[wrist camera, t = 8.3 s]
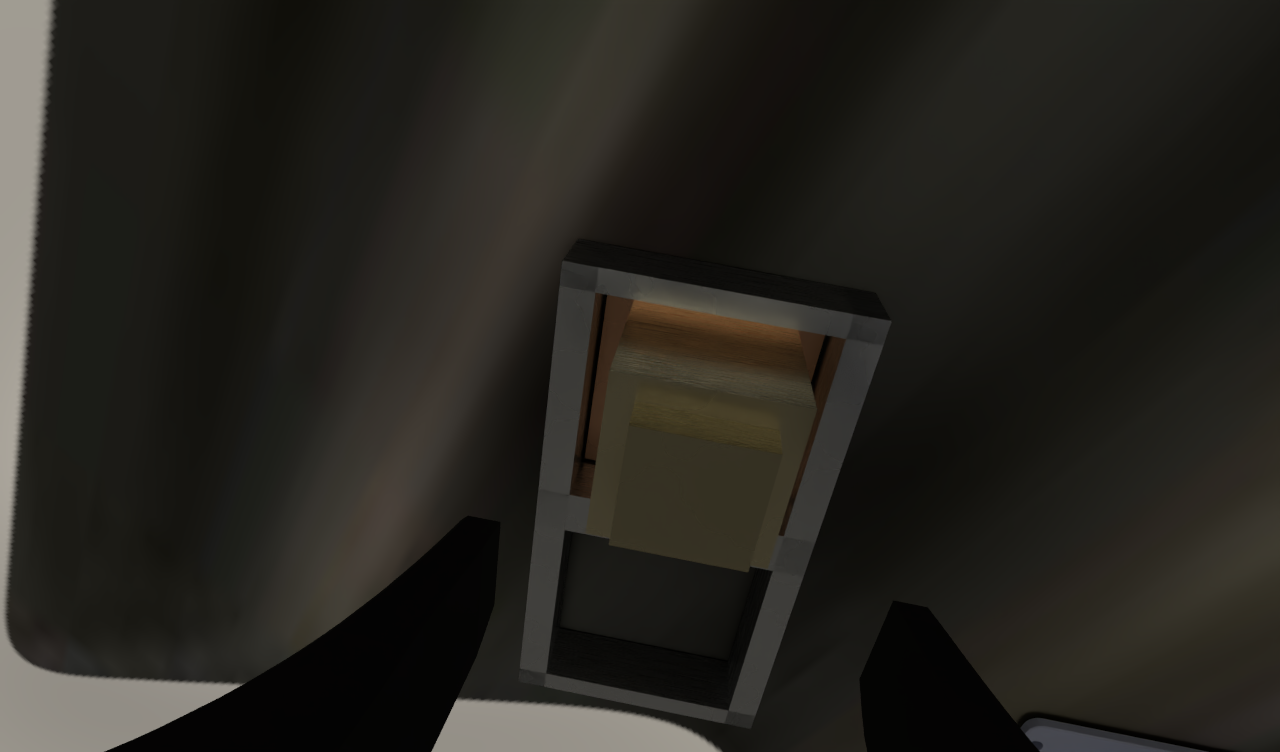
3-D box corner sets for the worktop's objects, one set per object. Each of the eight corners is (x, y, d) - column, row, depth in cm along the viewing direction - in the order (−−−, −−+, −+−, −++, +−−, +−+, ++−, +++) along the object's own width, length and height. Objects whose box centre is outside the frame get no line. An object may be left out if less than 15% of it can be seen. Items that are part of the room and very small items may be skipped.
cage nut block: (760, 465, 21) (769, 599, 16) (612, 437, 21) (577, 561, 16) (797, 329, 19) (823, 434, 14) (634, 298, 19) (601, 392, 14)
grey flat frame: (749, 679, 25) (750, 728, 23) (533, 635, 25) (518, 681, 23) (875, 293, 18) (891, 320, 16) (578, 238, 18) (562, 260, 17)
